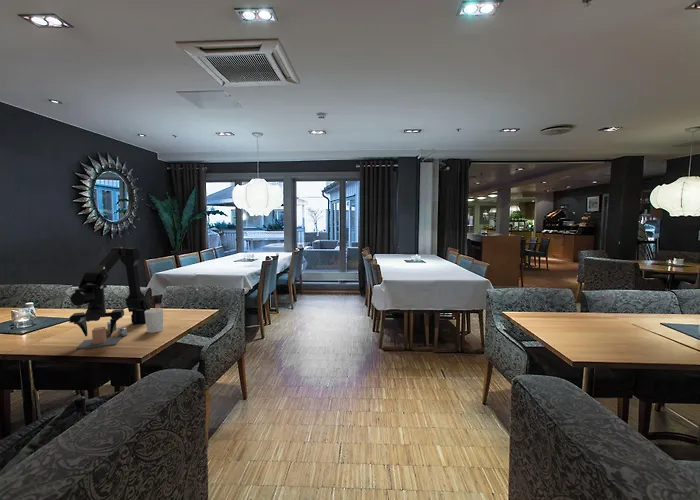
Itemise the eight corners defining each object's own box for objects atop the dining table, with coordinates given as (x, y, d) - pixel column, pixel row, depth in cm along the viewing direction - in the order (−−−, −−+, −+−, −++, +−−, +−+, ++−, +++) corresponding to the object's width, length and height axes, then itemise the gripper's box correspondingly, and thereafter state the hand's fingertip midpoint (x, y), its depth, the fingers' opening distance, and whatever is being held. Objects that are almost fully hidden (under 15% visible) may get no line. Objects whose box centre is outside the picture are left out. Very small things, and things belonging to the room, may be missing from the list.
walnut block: (111, 336, 162) (111, 328, 161) (106, 338, 158) (105, 331, 158) (104, 336, 162) (103, 328, 162) (98, 338, 158) (98, 331, 158)
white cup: (167, 329, 172) (166, 309, 171) (154, 334, 164) (153, 313, 163) (155, 327, 174) (154, 307, 173) (141, 332, 167) (140, 312, 166)
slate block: (116, 327, 174) (115, 320, 173) (116, 329, 171) (116, 322, 170) (107, 329, 172) (107, 322, 171) (107, 331, 169) (107, 324, 168)
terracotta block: (106, 339, 155) (105, 326, 155) (103, 342, 152) (102, 329, 151) (95, 340, 154) (94, 327, 153) (92, 344, 150) (91, 330, 149)
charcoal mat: (121, 337, 160) (121, 336, 160) (115, 345, 151) (115, 343, 151) (84, 341, 155) (84, 340, 155) (76, 349, 146) (76, 348, 145)
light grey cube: (125, 333, 165) (125, 326, 165) (128, 335, 162) (127, 327, 162) (116, 335, 162) (116, 328, 162) (119, 337, 160) (119, 329, 159)
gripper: (62, 306, 140) (65, 344, 141) (117, 302, 147) (119, 338, 148) (72, 300, 150) (75, 335, 152) (123, 296, 157) (125, 330, 158)
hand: (99, 334), depth 152 cm, fingers open, 9 cm apart
